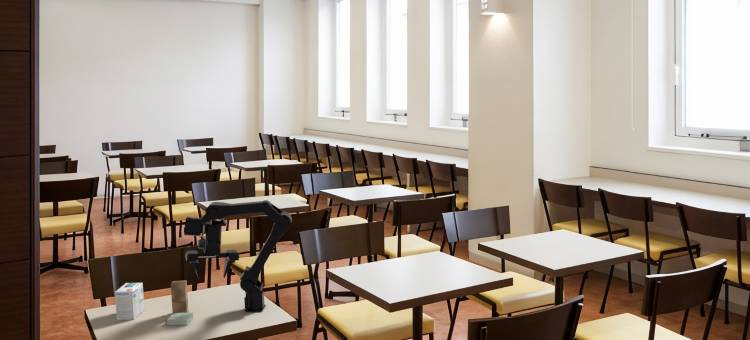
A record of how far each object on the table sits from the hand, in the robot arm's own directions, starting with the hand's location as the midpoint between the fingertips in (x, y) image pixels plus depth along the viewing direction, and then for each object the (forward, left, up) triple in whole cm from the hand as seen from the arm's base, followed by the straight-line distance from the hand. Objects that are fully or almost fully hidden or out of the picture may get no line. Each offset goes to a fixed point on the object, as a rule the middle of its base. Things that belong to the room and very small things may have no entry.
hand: (211, 278), depth 254 cm
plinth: (+9, +11, -13) cm, 19 cm away
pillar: (+11, +3, -13) cm, 17 cm away
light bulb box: (+30, +4, -13) cm, 33 cm away
